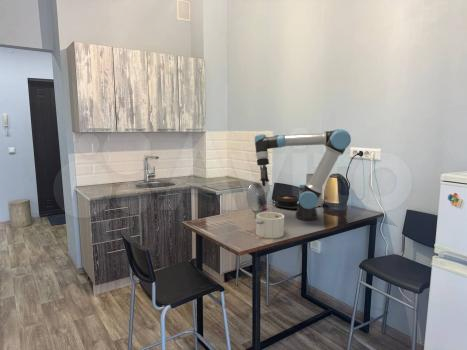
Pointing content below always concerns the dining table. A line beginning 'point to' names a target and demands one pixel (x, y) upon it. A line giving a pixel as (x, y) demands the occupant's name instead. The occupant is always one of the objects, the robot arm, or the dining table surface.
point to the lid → (256, 197)
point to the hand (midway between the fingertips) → (266, 191)
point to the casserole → (287, 201)
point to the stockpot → (269, 224)
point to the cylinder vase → (308, 178)
